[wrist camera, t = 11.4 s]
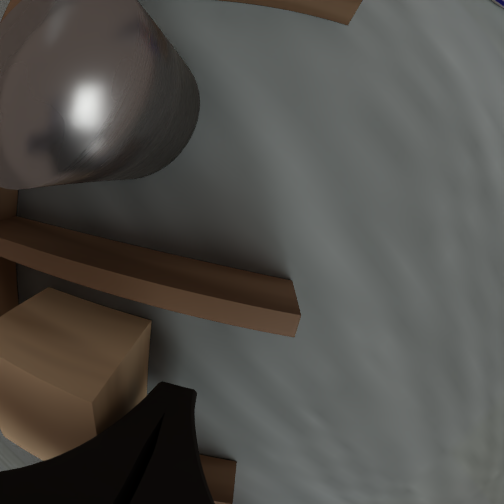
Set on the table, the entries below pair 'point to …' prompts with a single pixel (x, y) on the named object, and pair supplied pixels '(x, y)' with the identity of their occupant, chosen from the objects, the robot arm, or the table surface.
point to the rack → (159, 266)
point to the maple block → (68, 371)
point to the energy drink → (499, 2)
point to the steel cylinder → (89, 94)
